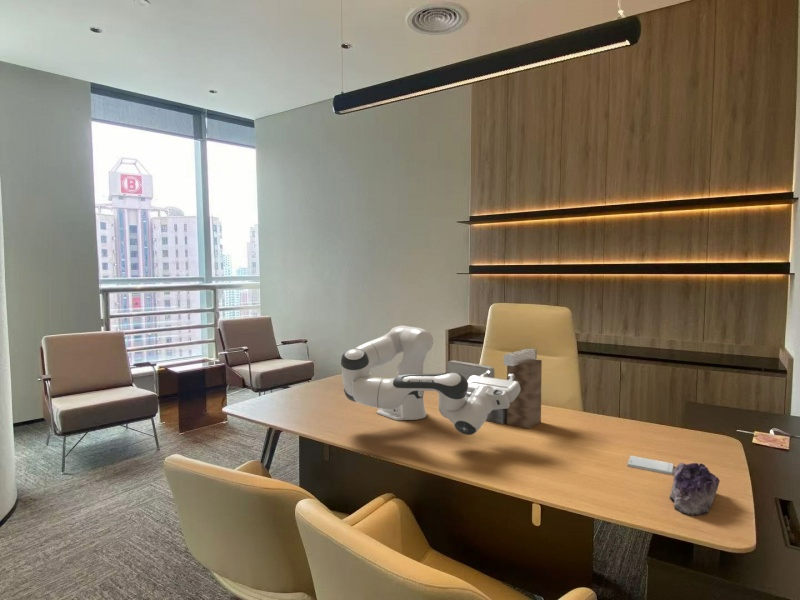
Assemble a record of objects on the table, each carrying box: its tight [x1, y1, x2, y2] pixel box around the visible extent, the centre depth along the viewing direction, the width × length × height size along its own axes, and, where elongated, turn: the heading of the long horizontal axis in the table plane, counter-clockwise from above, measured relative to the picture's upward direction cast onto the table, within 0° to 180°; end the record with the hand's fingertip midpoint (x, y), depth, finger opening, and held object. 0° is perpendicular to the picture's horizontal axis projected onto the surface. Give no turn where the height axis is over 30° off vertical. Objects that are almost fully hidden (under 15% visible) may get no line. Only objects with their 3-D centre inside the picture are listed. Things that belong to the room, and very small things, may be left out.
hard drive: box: [627, 455, 675, 476], centre depth 151 cm, size 2×8×12 cm
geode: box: [669, 462, 720, 517], centre depth 127 cm, size 20×12×10 cm, turn 144°
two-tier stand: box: [485, 359, 543, 429], centre depth 199 cm, size 21×12×26 cm, turn 51°
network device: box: [446, 359, 495, 397], centre depth 222 cm, size 26×9×20 cm, turn 42°
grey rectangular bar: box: [503, 348, 538, 366], centre depth 192 cm, size 4×22×4 cm, turn 141°
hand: (500, 373), depth 179 cm, fingers open, 8 cm apart
